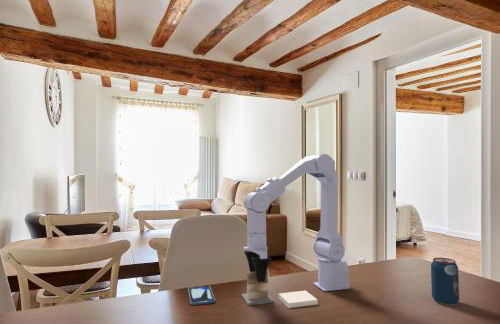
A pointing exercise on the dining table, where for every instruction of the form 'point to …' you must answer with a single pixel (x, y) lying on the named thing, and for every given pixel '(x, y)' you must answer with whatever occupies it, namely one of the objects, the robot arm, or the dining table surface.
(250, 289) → the stepped beige block
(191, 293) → the smartphone
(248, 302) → the mat
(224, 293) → the dining table surface
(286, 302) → the tile
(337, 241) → the robot arm
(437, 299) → the soda can
